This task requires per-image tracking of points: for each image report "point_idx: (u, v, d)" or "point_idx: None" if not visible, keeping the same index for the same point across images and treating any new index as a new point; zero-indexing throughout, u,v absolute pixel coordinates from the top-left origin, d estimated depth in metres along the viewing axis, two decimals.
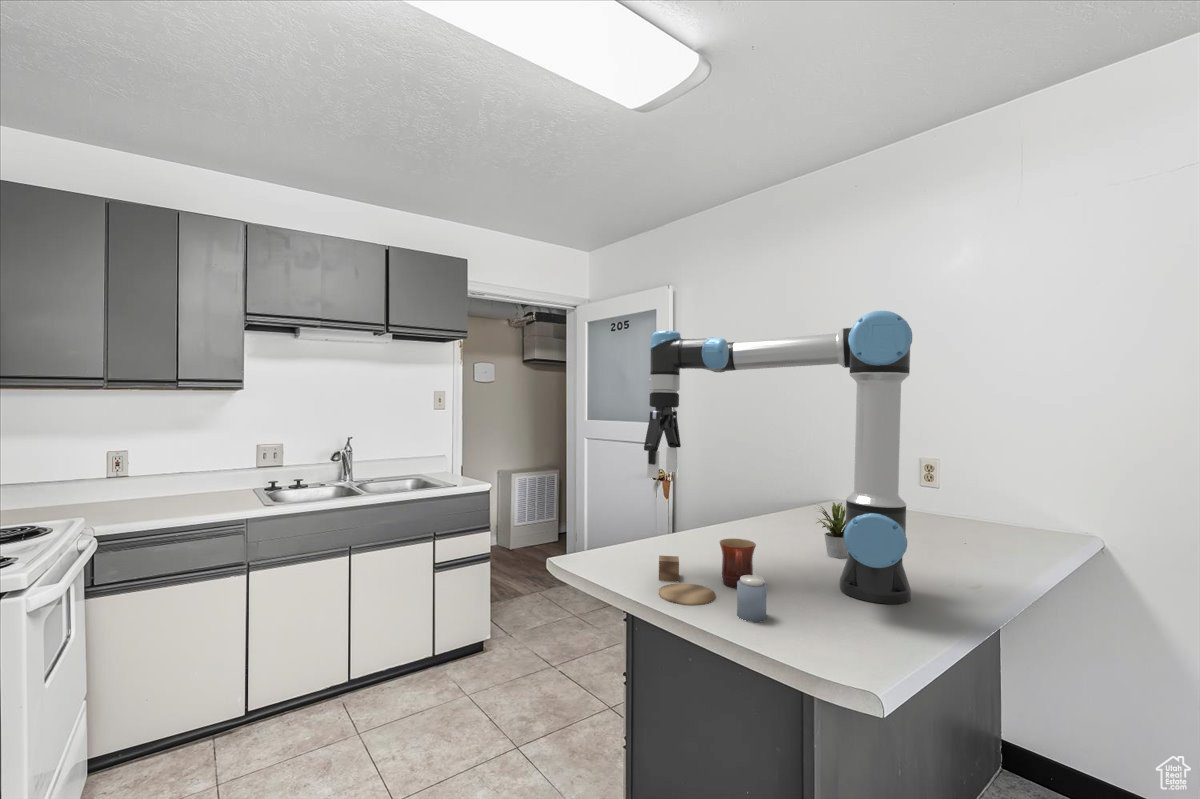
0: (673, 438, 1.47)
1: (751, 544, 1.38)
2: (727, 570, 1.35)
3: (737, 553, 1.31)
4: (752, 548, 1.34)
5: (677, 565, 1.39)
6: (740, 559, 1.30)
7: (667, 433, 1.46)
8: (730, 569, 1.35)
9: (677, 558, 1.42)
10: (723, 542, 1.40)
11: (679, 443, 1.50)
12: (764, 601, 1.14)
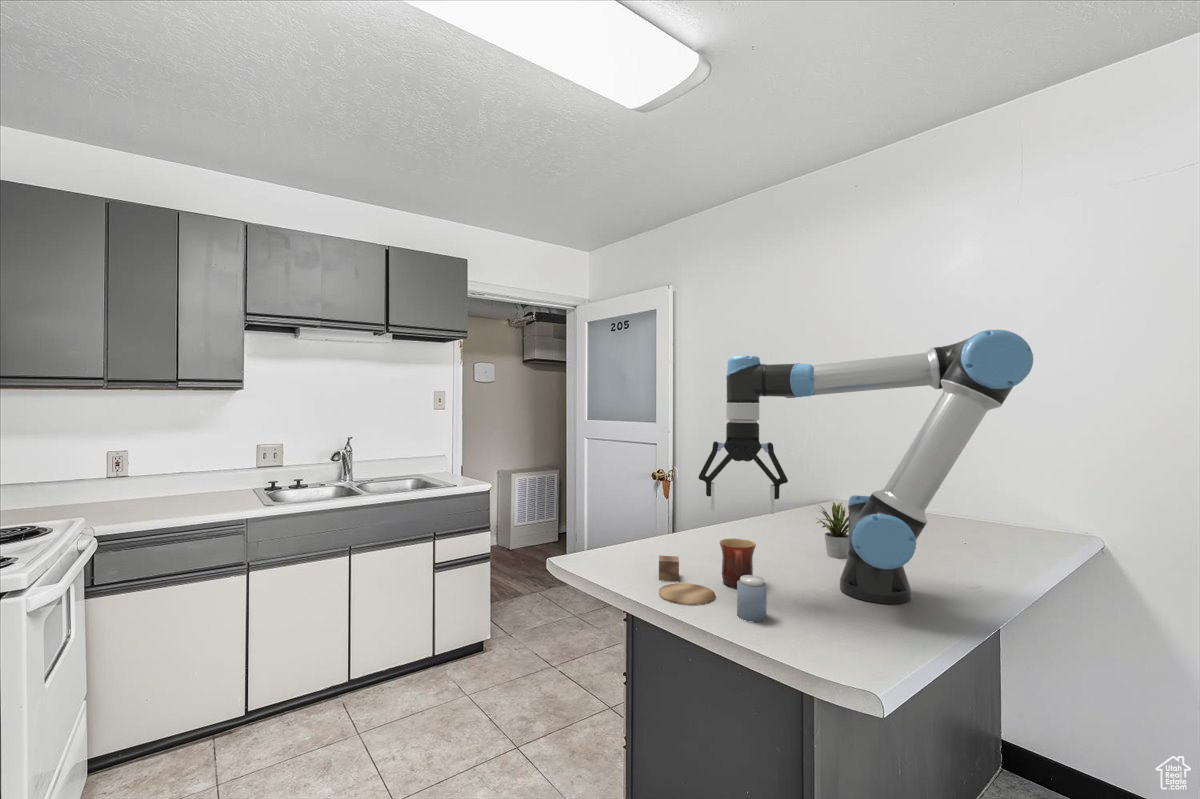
0: (766, 474, 1.29)
1: (751, 544, 1.38)
2: (727, 570, 1.35)
3: (737, 553, 1.31)
4: (752, 548, 1.34)
5: (677, 565, 1.39)
6: (740, 559, 1.30)
7: None
8: (730, 569, 1.35)
9: (677, 558, 1.42)
10: (723, 542, 1.40)
11: (785, 482, 1.28)
12: (764, 601, 1.14)
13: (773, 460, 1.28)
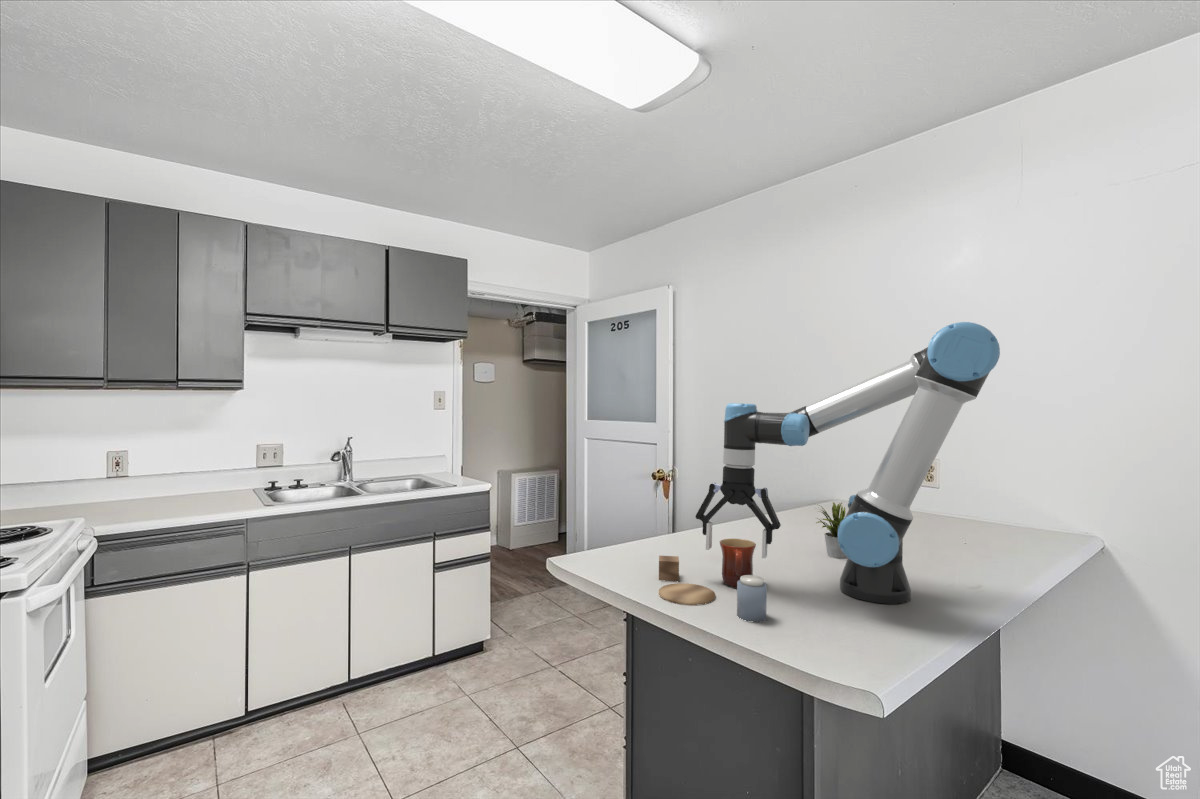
0: None
1: (751, 544, 1.38)
2: (727, 570, 1.35)
3: (737, 553, 1.31)
4: (752, 548, 1.34)
5: (677, 565, 1.39)
6: (740, 559, 1.30)
7: None
8: (730, 569, 1.35)
9: (677, 558, 1.42)
10: (723, 542, 1.40)
11: (776, 528, 1.31)
12: (764, 601, 1.14)
13: (765, 506, 1.32)
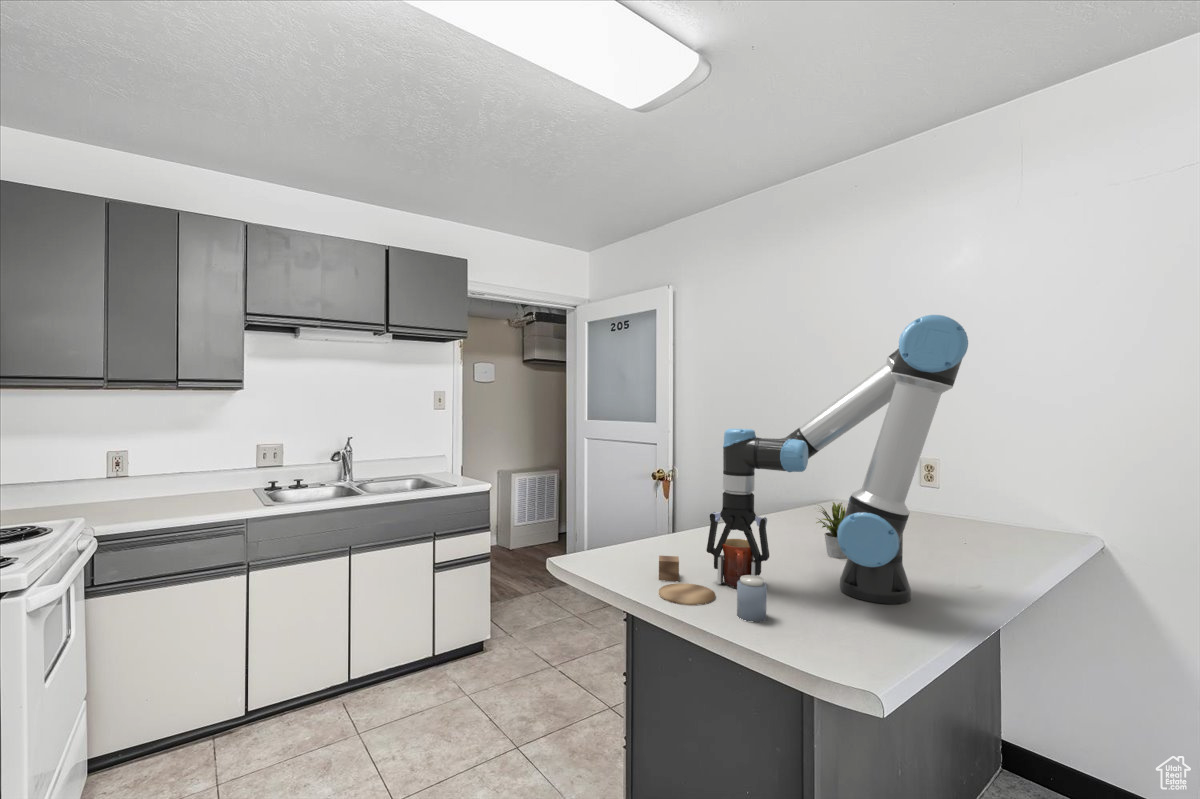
0: None
1: None
2: (728, 570, 1.35)
3: (738, 553, 1.31)
4: None
5: (677, 565, 1.39)
6: (741, 559, 1.30)
7: None
8: (731, 569, 1.34)
9: (677, 558, 1.42)
10: None
11: (764, 559, 1.32)
12: (764, 601, 1.14)
13: (760, 536, 1.32)
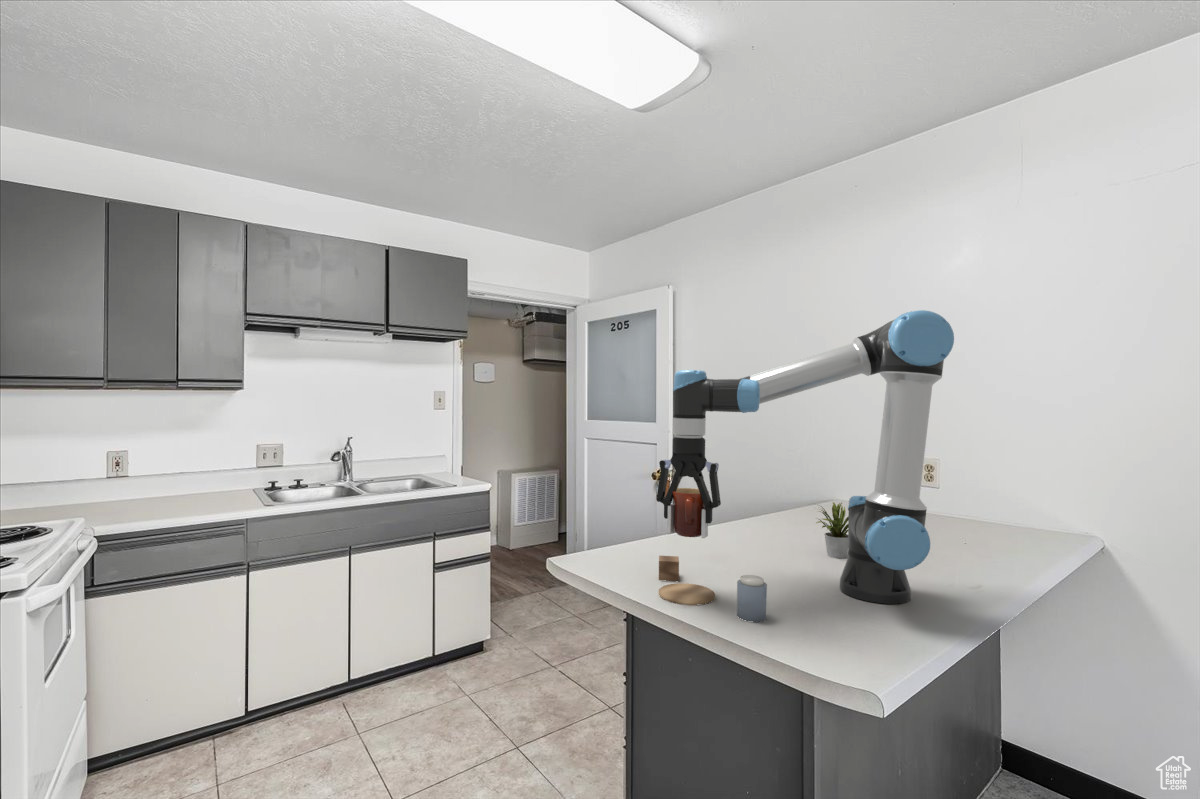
0: None
1: None
2: (678, 519, 1.28)
3: (687, 499, 1.24)
4: None
5: (677, 565, 1.39)
6: (690, 505, 1.23)
7: None
8: (681, 517, 1.28)
9: (677, 558, 1.42)
10: (676, 491, 1.33)
11: (715, 506, 1.25)
12: (764, 601, 1.14)
13: (711, 481, 1.26)
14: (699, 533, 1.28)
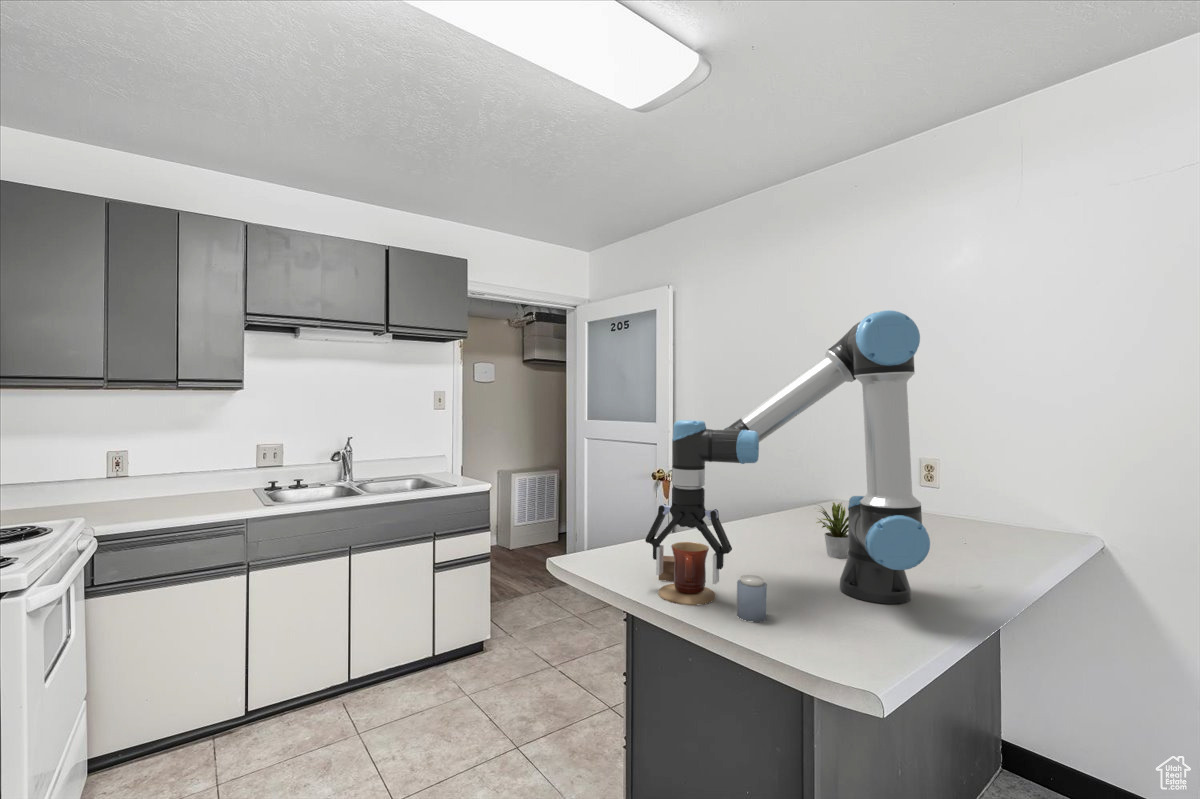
0: None
1: (704, 548, 1.31)
2: (678, 576, 1.28)
3: (687, 558, 1.24)
4: (704, 552, 1.27)
5: None
6: (690, 564, 1.23)
7: None
8: (681, 574, 1.28)
9: None
10: (676, 546, 1.33)
11: (727, 552, 1.24)
12: (764, 601, 1.14)
13: (715, 529, 1.25)
14: (699, 590, 1.27)
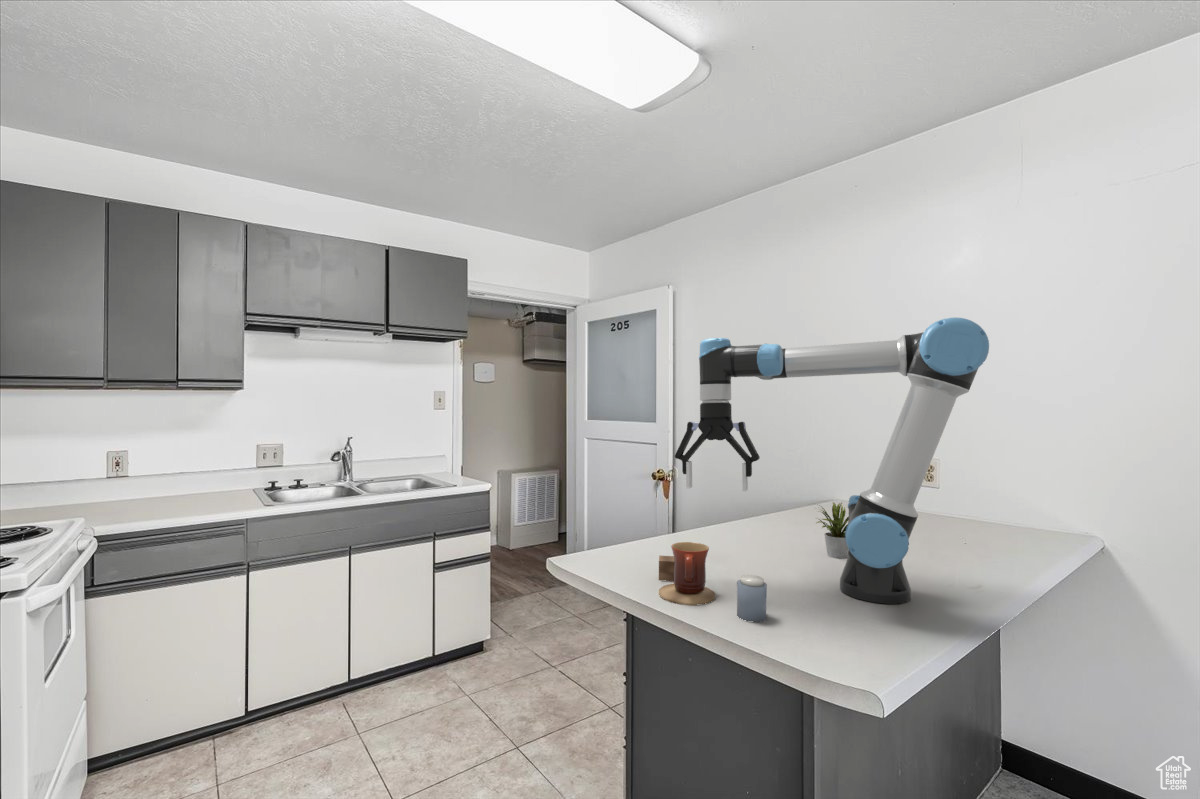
0: (737, 452, 1.33)
1: (704, 548, 1.31)
2: (678, 576, 1.28)
3: (687, 558, 1.24)
4: (704, 552, 1.27)
5: None
6: (690, 564, 1.23)
7: None
8: (681, 574, 1.28)
9: None
10: (676, 546, 1.33)
11: (755, 459, 1.31)
12: (764, 601, 1.14)
13: (744, 438, 1.32)
14: (699, 590, 1.27)
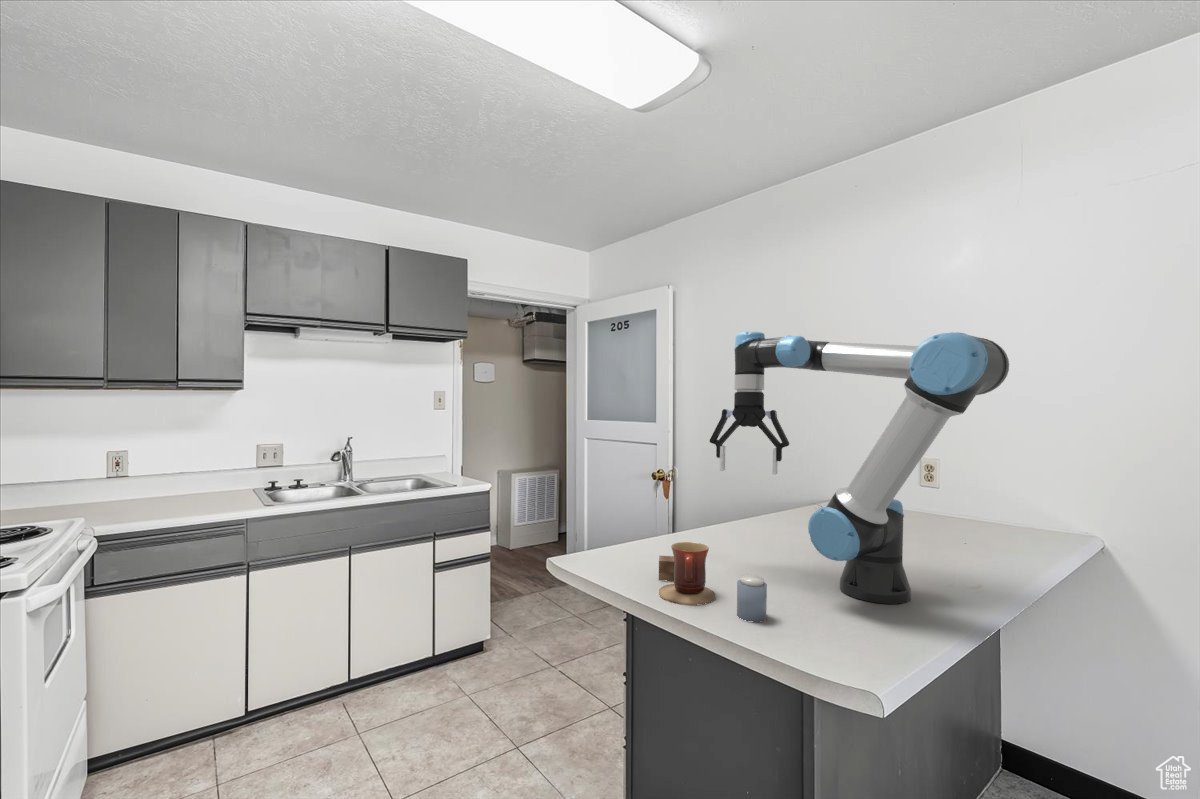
0: (769, 438, 1.43)
1: (704, 548, 1.31)
2: (678, 576, 1.28)
3: (687, 558, 1.24)
4: (704, 552, 1.27)
5: None
6: (690, 564, 1.23)
7: None
8: (681, 574, 1.28)
9: None
10: (675, 546, 1.33)
11: (785, 445, 1.40)
12: (764, 601, 1.14)
13: (775, 426, 1.42)
14: (699, 590, 1.27)
